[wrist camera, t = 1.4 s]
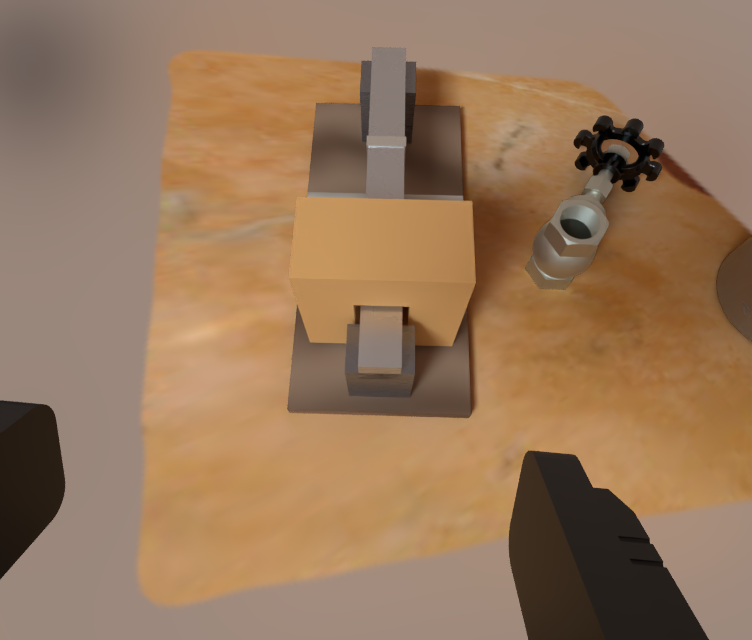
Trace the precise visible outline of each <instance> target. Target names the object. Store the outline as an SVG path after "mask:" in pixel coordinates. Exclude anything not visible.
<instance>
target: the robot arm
mask: <svg viewBox="0 0 752 640" xmlns="http://www.w3.org/2000/svg"><path fill="white" fill-rule="evenodd" d="M717 293H718V297H719V300H720V304H721V306H722V308H723V310H724V312H725V314H726V316H727V317H728V319H729V320H730V321H731V322H732V324H733V325H734V326H735V327H736V329H738V330H739V331H740V332H741V333H742V334H743V335H744V336H745V337H746V338H748V339H749V340H751V341H752V236H751V237H750V238H749V239H748V240H746V241H745V242H744V243H743V244H741V245H740V246H739V247H738V248H737V249H735V250H734V251H733V252H732V253H731V254H730V255H729V256H728V257H727V258H726V259H725V260H724V261H723V263H722V265H721V267H720V269H719V272H718V277H717ZM64 492H65V477H64V470H63V463H62V457H61V450H60V443H59V437H58V430H57V423H56V417H55V414H54V412H53V410H52V409H51V408H50V407H49V406H47V405H44V404H33V403H23V402H12V401H0V579H1V578H2V577H3V576H4V574H5V573H6V572H7V571H8V570H9V569H10V568H11V567H12V565H13V564H14V563H15V562H16V561H17V560H18V559H19V557H20V556H21V555H22V554H23V553H24V552H25V550H27V548H28V547H29V546H30V545H31V544H32V543H33V542H34V540H35V539H36V538H37V537H38V536H39V535H40V533H41V532H42V531H43V530H44V529H45V528H46V527H47V525H48V524H49V523H50V522H51V521H52V520H53V518H54V517H55V516H56V514H57V512H58V510H59V508H60V506H61V503H62V500H63V497H64ZM509 557H510V564H511V569H512V573H513V577H514V581H515V585H516V590H517V594H518V598H519V602H520V606H521V611H522V615H523V618H524V623H525V627H526V631H527V636H528V640H709V639H708V637H707V636H706V634H705V632H704V631H703V629H702V627H701V625H700V624H699V622H698V620H697V619H696V617H695V615H694V614H693V612H692V610H691V608H690V607H689V605H688V603H687V602H686V600H685V598H684V596H683V595H682V593H681V591H680V590H679V588H678V586H677V585H676V583H675V581H674V579H673V578H672V576H671V574H670V573H669V571H668V569H667V568H664V567H663V561H662V559H661V557H660V556H659V554H658V552H657V551H656V549H655V547H654V545H653V544H650V539H649V537H648V535H647V533H646V532H645V530H644V528H643V527H642V525H641V523H640V521H639V520H638V518H637V516H636V515H635V513H634V512H633V511H632V510H631V509H630V508H629V507H628V506H626V505H625V504H624V503H623V502H622V501H621V500H620V499H619V498H618V497H616V496H615V495H614V494H613V493H612V492H611V491H610V490H609V489H601V488H593V487H592V485H591V483H590V481H589V479H588V477H587V475H586V473H585V471H584V469H583V467H582V465H581V463H580V461H579V460H578V458H577V457H576V456H575V455H572V454H561V453H550V452H540V451H528V452H527V453H526V454H525V457H524V460H523V464H522V468H521V473H520V478H519V483H518V488H517V493H516V498H515V503H514V508H513V513H512V518H511V523H510V530H509Z"/></svg>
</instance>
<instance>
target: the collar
mask: <svg viewBox="0 0 752 640" xmlns="http://www.w3.org/2000/svg"><path fill="white" fill-rule="evenodd" d="M289 281H290V284H291V287H292V290H293V293H294V296H295V299H296V302H297V305H298V308H299V311H300V314H301V317H302V320H303V323H304V326H305V329H306V332H307V335H308V338H309V341H310V342H312V343H346V339H347V324H360V311H361V305H366V306H402V325H409V326H415V345H419V346H452V345H453V342H454V340H455V337H456V334H457V332H458V329H459V326H460V324H461V321H462V318H463V316H464V313H465V310H466V308H467V305H468V302H469V300H470V297H471V295H472V292H473V289H474V287H475V284H476V276H475V253H474V230H473V208H472V201H453V200H412V199H371V198H330V197H297V202H296V212H295V221H294V231H293V241H292V250H291V260H290V270H289Z"/></svg>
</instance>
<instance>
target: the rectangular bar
mask: <svg viewBox="0 0 752 640" xmlns="http://www.w3.org/2000/svg"><path fill="white" fill-rule="evenodd" d="M415 96H416V62H406V48H383V47H373V48H372V61H362V66H361V84H360V103H361V129H362V142H367V143H366V149H367V179H366V198H371V199H404V169H405V155H406V143H412V132H413V120H414V108H415ZM414 376H415V326H409V325H402V306H366V305H361V311H360V324H347V339H346V357H345V377H346V382H347V388H348V393H349V396H364V397H398V398H410V394H411V390H412V385H413V381H414Z"/></svg>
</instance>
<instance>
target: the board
mask: <svg viewBox="0 0 752 640" xmlns="http://www.w3.org/2000/svg"><path fill="white" fill-rule="evenodd" d="M366 143H367V142H362V129H361V104H335V103H316V111H315V121H314V132H313V143H312V153H311V164H310V174H309V185H308V194H307V197H330V198H366V179H367V149H366ZM404 199H412V200H453V201H463V182H462V155H461V128H460V106H426V105H415V108H414V120H413V132H412V143H406V155H405V169H404ZM345 357H346V343H312V342H310V341H309V338H308V335H307V332H306V329H305V326H304V323H303V320H302V317H301V314H300V311H299V308H298V305H297V312H296V323H295V333H294V344H293V354H292V365H291V375H290V386H289V397H288V407H287V409H288V411H289V412H290V413H319V414H352V415H386V416H419V417H453V418H469V417H470V415H471V400H470V373H469V346H468V319H467V308H466V310H465V313H464V316H463V318H462V321H461V324H460V326H459V329H458V332H457V334H456V337H455V340H454V342H453V345H452V346H419V345H415V376H414V381H413V385H412V390H411V394H410V398H398V397H364V396H349V393H348V388H347V382H346V377H345Z"/></svg>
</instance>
